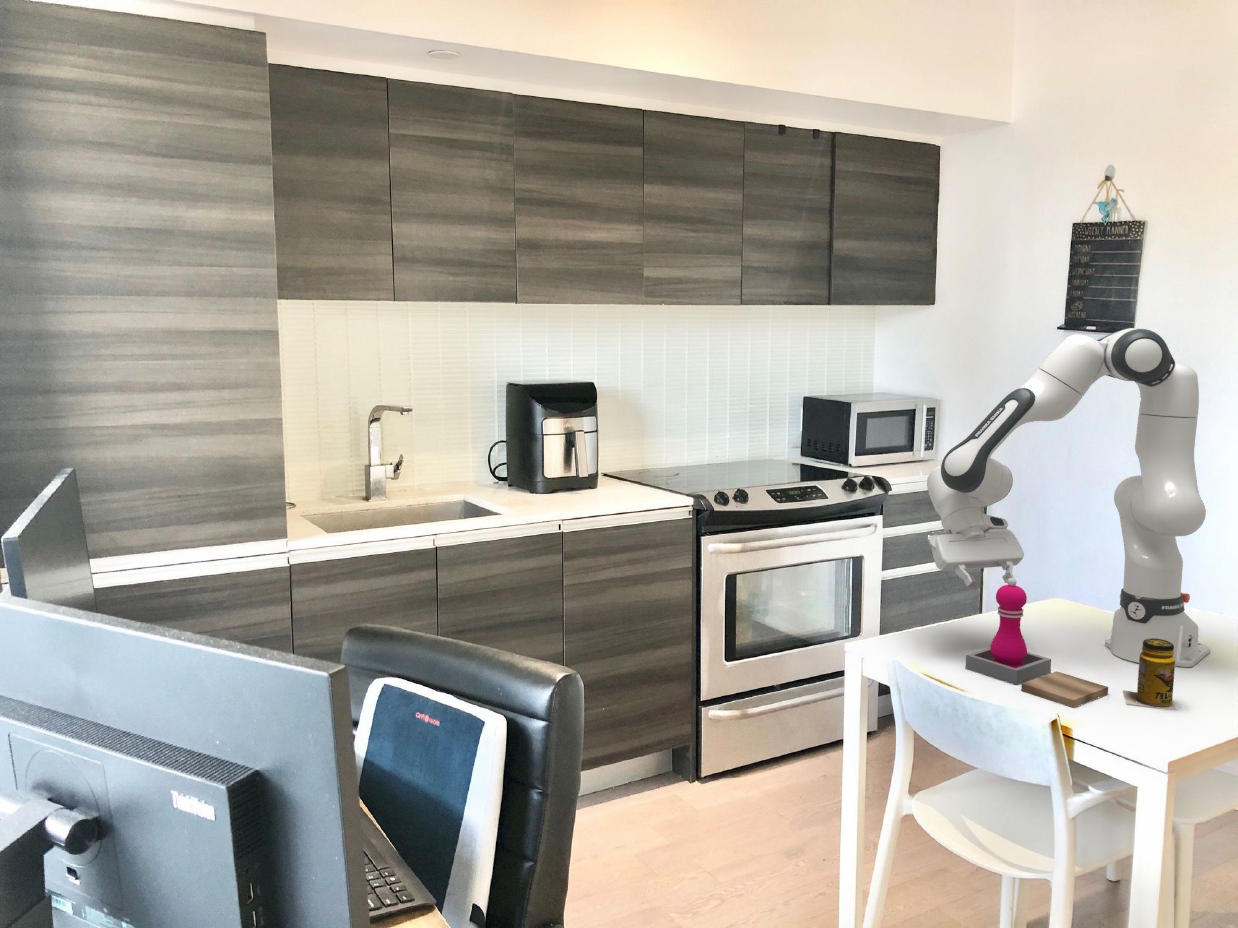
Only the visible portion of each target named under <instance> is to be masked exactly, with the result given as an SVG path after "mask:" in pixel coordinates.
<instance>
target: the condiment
mask: <svg viewBox="0 0 1238 928" xmlns="http://www.w3.org/2000/svg"><path fill="white" fill-rule="evenodd" d="M1173 650H1174V645H1173V643H1171V642H1169V641H1166V640H1163V639H1156V638H1149V639H1145V640H1144V641H1143V647H1142V652H1141V654H1140V657H1139V663H1138V675H1137V687H1136V688H1137V690H1136V691H1130V690H1122V693H1123V697H1124V700H1125V703H1126V705H1133V706H1140V707H1146V708H1147V707H1148V708H1153V709H1162V710H1171V711H1177V708H1176V705H1175V703H1174V700H1173V695H1174V694H1173V693H1174V685H1175V683H1174V680H1175V667H1176V666H1175V658H1174V657H1173V654H1174V652H1173Z"/></svg>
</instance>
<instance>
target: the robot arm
mask: <svg viewBox="0 0 1238 928" xmlns="http://www.w3.org/2000/svg"><path fill="white" fill-rule="evenodd" d="M1105 376H1107V377H1111V378H1114V379H1117V380H1121V381H1124V382H1134V383H1135V384H1136V385H1137V387H1138V390H1139V392H1140V393H1139V397H1140V402H1139V408H1138V409H1139V410H1138V417H1137V426H1136V435H1135V445H1134V450H1135V454H1136V456H1137V458H1138V462H1139V467H1140V474H1139V475H1133V476H1129V477H1126V478H1125V479H1123V480H1122V481H1120V483H1119V484H1118V485H1117V487H1115V491H1114V494H1113V502H1114V505H1115V507H1116V509H1117V512H1118V516H1119V521H1120V528H1121V536H1122V542H1123V548H1124V549H1123V550H1124V565H1123V567H1124V570H1123V587H1122V588H1121V590H1120V594H1119V600H1120V601H1119V606H1120V608H1118V609H1117V610H1115V611H1114V613H1113V618H1112V626H1111V630H1110V631H1111V633H1110V639H1106V640H1105V641H1104V645H1105V646H1106V647H1107V648H1109V650H1110V651H1111V652H1110V653H1112V654H1113V655H1114V656H1117V657H1119V658H1121V659H1123V660H1126V661H1129V662H1134V663H1137V664H1139V657H1140V654H1141V652H1142V647H1143V641H1144V640H1145V639H1149V638H1156V639H1163V640H1166V641H1169V642H1171V643H1173V645H1174V650H1173V652H1174V654H1173V657H1174V658H1175V667H1185V668H1192V667H1194V666H1195V665H1196V664H1198V662H1200V661H1201V660H1202V659H1203V658H1205V656H1207V655H1208V654H1209V653H1210V650H1211V649H1210V647H1209V646H1208V645H1205V644H1204V643H1201V642H1199V626H1198V624H1197V623H1196V622H1195V621H1194V620H1193V619H1192V618H1191V617H1190V616H1189V615H1188V614H1187V613H1186V612H1185V604H1188V603H1189V602H1190V599H1191V595H1190V594H1189V593H1187V592H1186V593H1183V592H1182V584H1183V583H1182V582H1183V581H1182V579H1183V569H1184V568H1183V567H1184V561H1183V557H1182V554H1181V552H1180V550H1179V547H1178V544H1177V538H1176V537H1187V536H1189V535H1192V534H1194V533H1195V532H1197V531H1198V530H1199V529H1200V528H1201V527H1202V526H1203V524H1204V522H1205V519H1206V514H1207V513H1206V511H1207V509H1206V506H1205V503H1204V502H1203V500H1202V497H1201V495H1200V491H1199V487H1198V480H1197V479H1198V478H1197V473H1196V464H1195V447H1196V446H1195V445H1196V436H1197V427H1198V417H1199V404H1200V403H1199V402H1200V391H1199V377H1198V374H1197V372H1196V370H1195V369H1193V367H1191V366H1189V365H1187V364H1185V363H1182V362H1176V361H1175V359H1174V357H1173V355H1172V354H1171V351H1170V348H1169V347H1168V344H1167V343H1166V341H1165V340H1164V338H1163V337H1161V335H1159V334H1158V332H1157V333H1156V332H1155V331H1152V330H1150V329H1146V328H1145V329H1144V328H1138V327H1131V328H1130V327H1129V328H1125V329H1122V330H1117V331H1114V332H1112V333H1109V334H1107V335H1106V336H1103V337H1101V338H1099V339H1097V340H1096V339H1095V338H1093V337H1092V336H1089V335H1086V334H1081V333H1080V334H1079V333H1077V334H1076V333H1075V334H1070V335H1069V336H1067V337H1066V338H1064V339H1063V340H1062V341H1060V343H1059V344H1058V345H1057V346H1056V347H1055V348H1054V349H1053V350H1052V351H1051V352H1049V354H1048V356H1046V357H1045V359H1043V361H1042V362H1041V364H1040V365H1039V366H1038V367H1037V368H1036V370H1035V371H1034V372H1033V374H1032V375H1030V377H1029V378H1028V379H1027V380H1026V381H1025V382H1024V383H1023V384H1022V385H1021V386H1020V387H1018V388H1016V389H1014V390H1013V391H1011V392H1009V394H1007V395H1006V396H1005V397H1004V398H1002V399H1001V401H999V403H998V404H997V405H996V406H995V407H993V409H992V410H991V411H990V412H989V413H988V415H986V417H985V418H984V419H983V420H982V421H980V423H979V424H978V425H977V426H976V427H975V429H973V431H972V432H971V433H970V434H969V435H967V437H966V438H965V439H963V440H961V442H958V444H956V445H955V446H953V447H952V448H950V449H949V450H948V452H946V454H945V455H944V457H943V458H942V461H941V464H940V465H938V466H936V467H934V468H933V469H932V470H931V471H930V473H929V474H928V476H927V479H926V487H927V491H928V492H927V493H928V495H929V497H930V500H931V503H932V505H933V508H934V510H935V512H936V513H937V514H938V516H939V517H940V522H941V525H942V528H943V530H939V531H936V530H935V531H934V530H933V531H931V532H930V533H929V534H928V535H927V538H926V539H927V542H928V545H929V547H930V548H931V553H932V557H933V561H934V563H935V566H936V568H937V569H938V570H940V571H941V572H945V571H946V572H947V571H948V572H949V571H954V573H955V574H956V576H958V577H959V578H960V579H961V580H963V582H964V584H965V585H966V587H974V586H975V585H976V583H977V581H976V579H975V576H974V574H971V575H970V574H969V573H968V572H967V570H973V569H985V568H986V569H987V568H999V567H1001V569H1002V570H1003V571H1005V573H1004V575H1003V576H1002V579H1003V581H1004V584H1008V583H1007V581H1008V579H1009V578H1014V579H1015V580H1016V578H1015V575H1014V574H1013V569H1014V566H1017V565H1019V564H1020V562H1022V560H1023V558H1024V556H1025V552H1024V550H1023V548H1022V545H1021V544H1020V542H1019V540H1018V538H1017V537H1016V534H1014V532H1013V531H1011V529H1009V528H1008V527H1009V522H1008V521H1007V519H1006V518H1002V517H998V516H993V515H990V514H986V513H984V512H982V511H981V509H984V508H986V507H989V506H991V505H993V504H996V503H998V502H1000V501H1002V500H1004V499H1005V498H1006V497H1007V496H1008V495H1009V494H1010V492H1011V490H1012V487H1013V483H1014V482H1013V481H1014V480H1013V473H1012V472H1011V470H1010V468H1009V467H1008V466H1006V465H1005V464H1003V463H1001V462H1000V461H998V460H996V459H995V458H993V457H992V455H993V454H994V452H996V451H997V449H998V448H999V447H1000V446H1001V445H1002V444H1003V443H1004V442H1005V441H1006V440H1007V439H1008V438H1009V437H1010V435H1011V434H1012V433H1013V432H1014V431H1015V430H1017V429H1018V428H1019V427H1021V426H1023V425H1025V424H1027V423H1033V422H1054V421H1058V420H1061V419H1063V418H1065V417H1066V416H1067V415H1068V414H1069V413H1071V412H1072V411H1073V410H1074V409H1075V408H1076V407H1077V405H1078V404H1079V402H1081V400H1082V399H1083V397H1084V396H1085V394H1086V393H1087V392H1088V390H1089V389H1090V388H1091V386H1092V385H1093V384H1095V382H1097V380H1100V379H1101V378H1102V377H1105Z"/></svg>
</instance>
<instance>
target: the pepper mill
mask: <svg viewBox="0 0 1238 928" xmlns="http://www.w3.org/2000/svg"><path fill="white" fill-rule="evenodd" d="M1014 578H1015V577H1014ZM1014 578H1009V579H1008V581H1007V583H1006V584H1005V585H1002V586H1000V587H999V588H998V589H997V590H996V593H995V601H996V602H997V604H998V607H997V610H998V611H997V614H998V615H999V626H998V628H997V631H996V633H995V635H994V637H993V638H992V641H991V644H990V647H991V648H990V647H989V648H990V652H991V654H992V655H993V657H994V658H995V659H994V660H993V662H997V663H1000V664H1003V665H1006V666H1009V667H1013V668H1018V667H1021V666H1024V664H1023V663H1022V661H1023V660H1024V659H1025V658H1026V656H1027V652H1028V647H1027V643H1026V641H1025V639H1024V636H1023V634H1022V631H1021V620H1022V617H1023V616H1024V609H1023V607H1024V606H1025V605H1026V604H1027V600H1028V599H1027V598H1028V597H1027V593H1026V591H1025V590H1024V589H1023V588H1022V587H1021V586H1019V585H1017V580H1016V578H1015V579H1014Z"/></svg>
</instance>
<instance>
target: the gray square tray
mask: <svg viewBox="0 0 1238 928" xmlns="http://www.w3.org/2000/svg"><path fill="white" fill-rule="evenodd" d="M990 648H991V646H990V647H988V648H984V649H981V650H977V651H975V652H971V653H967V654H965V670H969V671H972V672H975V673H977V674H978V673H979V674H981V675H985V676H988V677H990V678H992V679H993V678H994V679H997V680H999V681H1003V682H1005V683H1008V684H1011V685H1015V686H1017V685H1021V684H1022V683H1024V682H1027V681H1030V680H1033V679H1036V678H1039V677H1042V676H1044V675H1047V674H1050V673H1052V672H1051V671H1052V658H1048V657H1045V656H1041V655H1038V654H1037V653H1036V654H1034V653H1032V652H1028V651H1027V656H1026V658H1025V659H1024V660H1023V661H1022V663H1023V664H1024V666H1021V667H1018V668H1013V667H1009V666H1006V665H1003V664H1000V663H997V662H993V660H994V659H995V658H994V657H993V655H992V654H991V652H990Z"/></svg>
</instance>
